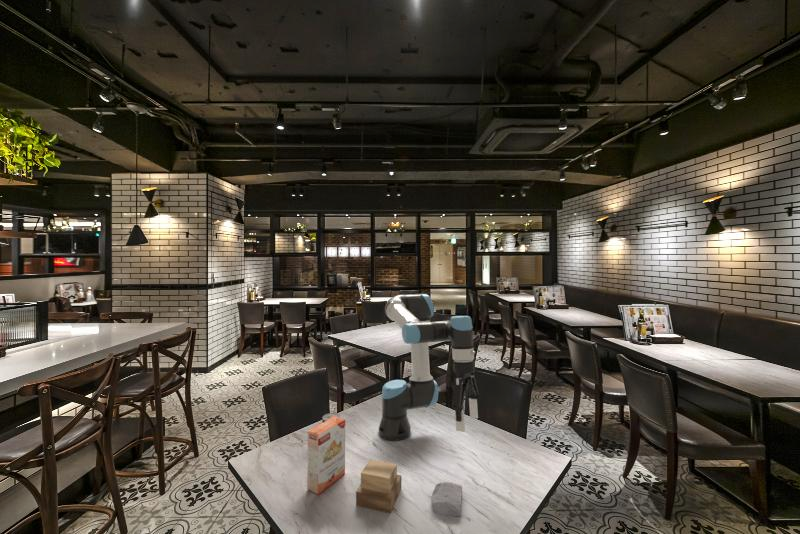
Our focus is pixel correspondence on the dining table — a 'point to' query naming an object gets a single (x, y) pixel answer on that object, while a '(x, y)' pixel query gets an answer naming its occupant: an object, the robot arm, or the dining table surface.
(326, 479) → the cracker box
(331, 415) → the canned tomato
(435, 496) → the stone block
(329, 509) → the dining table surface
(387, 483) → the tower top block
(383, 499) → the tower base block
